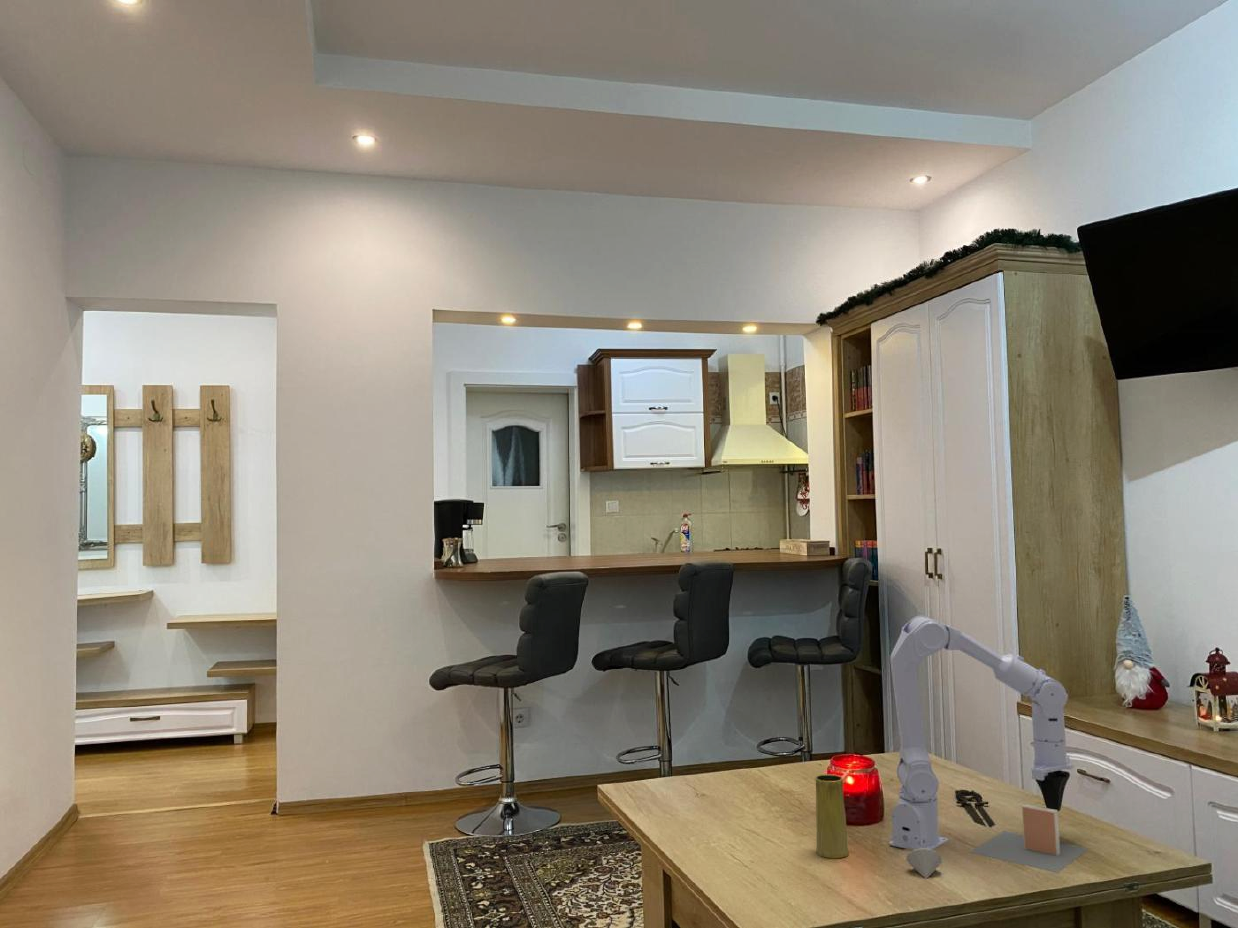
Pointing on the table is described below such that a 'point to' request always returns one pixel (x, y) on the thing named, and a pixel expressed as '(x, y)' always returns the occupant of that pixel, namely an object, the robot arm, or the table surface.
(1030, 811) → the tile
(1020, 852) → the mat
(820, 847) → the vase
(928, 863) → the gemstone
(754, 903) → the table surface
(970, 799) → the dark ornate flat tool
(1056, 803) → the robot arm
